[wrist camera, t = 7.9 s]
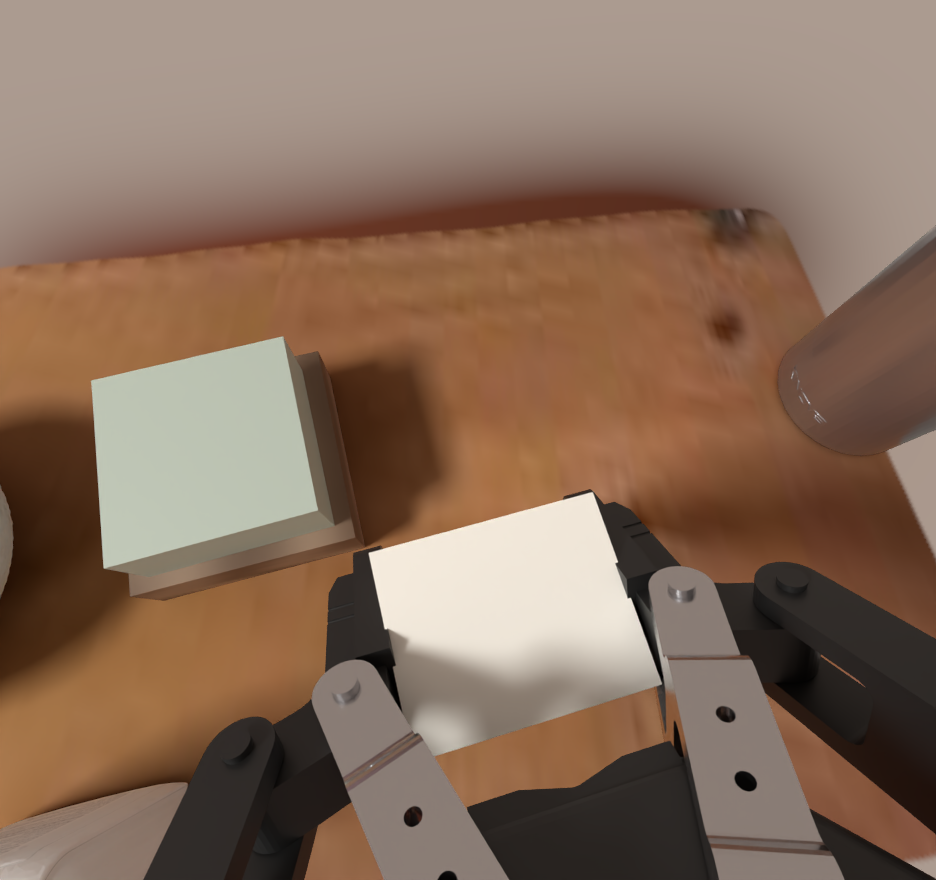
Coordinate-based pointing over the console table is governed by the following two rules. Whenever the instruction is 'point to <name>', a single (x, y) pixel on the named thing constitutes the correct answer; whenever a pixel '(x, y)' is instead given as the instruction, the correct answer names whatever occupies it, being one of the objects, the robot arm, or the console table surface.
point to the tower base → (293, 549)
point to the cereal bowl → (5, 540)
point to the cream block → (509, 624)
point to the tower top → (206, 459)
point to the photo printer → (92, 837)
